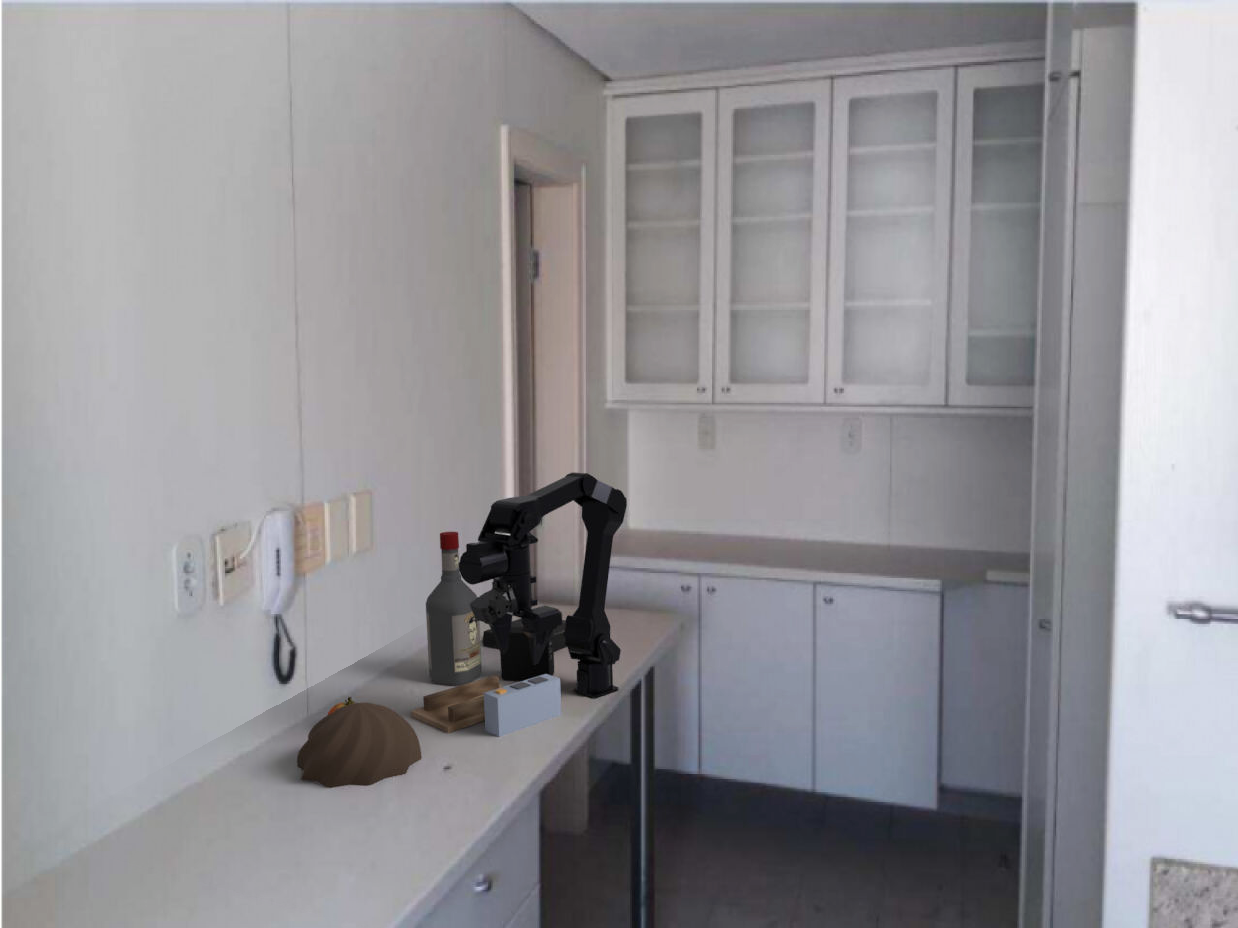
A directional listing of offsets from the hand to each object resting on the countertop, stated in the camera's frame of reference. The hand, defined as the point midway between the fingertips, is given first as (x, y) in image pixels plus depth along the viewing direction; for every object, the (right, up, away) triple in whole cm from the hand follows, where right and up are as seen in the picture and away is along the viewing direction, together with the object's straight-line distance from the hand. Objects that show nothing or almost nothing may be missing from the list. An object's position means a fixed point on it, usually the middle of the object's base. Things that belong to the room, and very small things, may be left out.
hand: (519, 658), depth 177 cm
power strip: (+1, -12, +1) cm, 12 cm away
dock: (-9, -11, +9) cm, 17 cm away
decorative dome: (-24, -15, -14) cm, 32 cm away
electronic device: (-1, -9, +26) cm, 28 cm away
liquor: (-16, -10, +27) cm, 33 cm away
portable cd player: (-2, -7, +51) cm, 52 cm away
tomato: (-30, -13, +2) cm, 33 cm away
